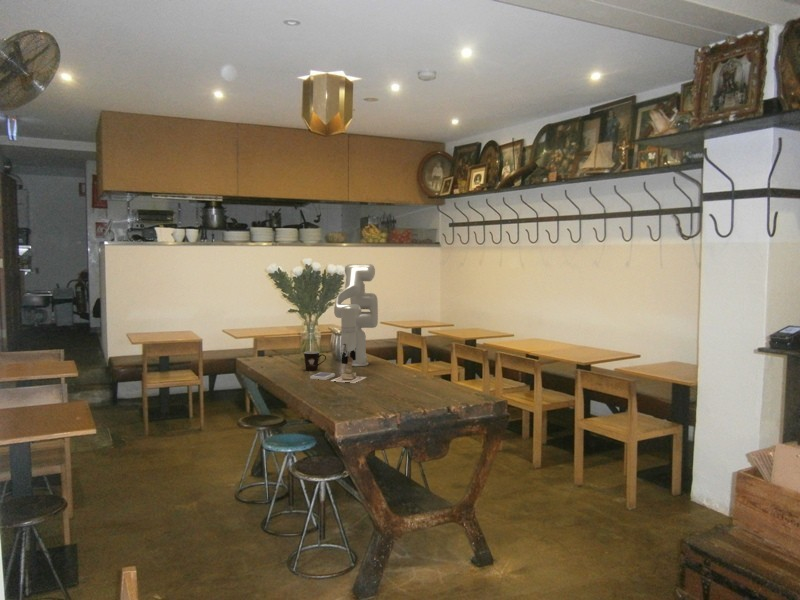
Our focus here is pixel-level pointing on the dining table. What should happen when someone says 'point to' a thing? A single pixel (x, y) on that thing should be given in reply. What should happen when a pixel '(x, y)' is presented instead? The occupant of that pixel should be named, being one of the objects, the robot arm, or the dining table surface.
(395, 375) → the dining table surface
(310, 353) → the coffee mug
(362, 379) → the paper sheet
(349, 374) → the stamp
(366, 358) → the robot arm
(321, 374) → the ink pad
